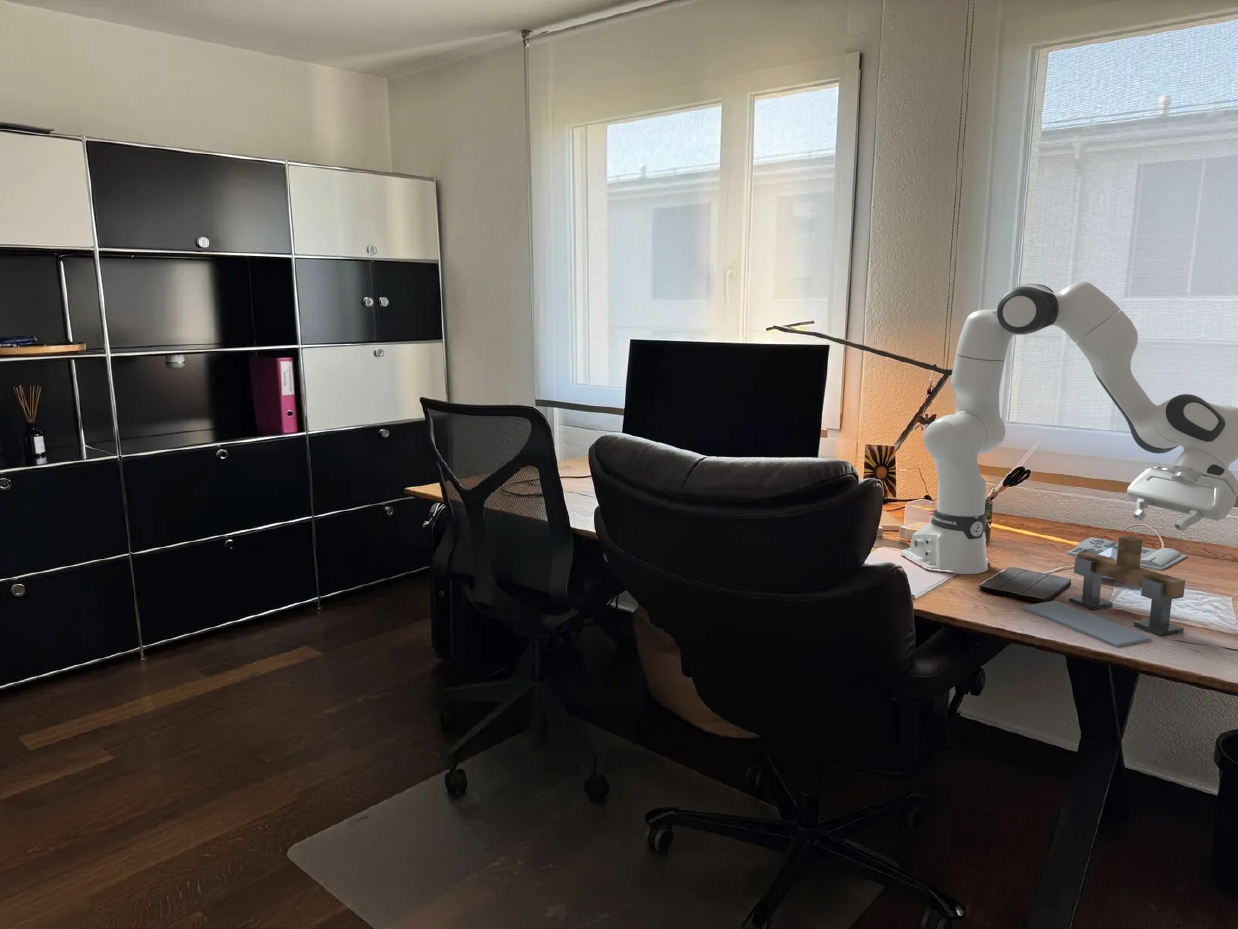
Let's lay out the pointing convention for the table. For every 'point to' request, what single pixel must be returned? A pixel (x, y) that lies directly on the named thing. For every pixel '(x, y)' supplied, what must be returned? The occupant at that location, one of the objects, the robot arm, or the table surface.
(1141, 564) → the office telephone
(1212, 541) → the table surface
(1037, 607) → the slate mat
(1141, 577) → the walnut rail
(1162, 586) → the hook posts
